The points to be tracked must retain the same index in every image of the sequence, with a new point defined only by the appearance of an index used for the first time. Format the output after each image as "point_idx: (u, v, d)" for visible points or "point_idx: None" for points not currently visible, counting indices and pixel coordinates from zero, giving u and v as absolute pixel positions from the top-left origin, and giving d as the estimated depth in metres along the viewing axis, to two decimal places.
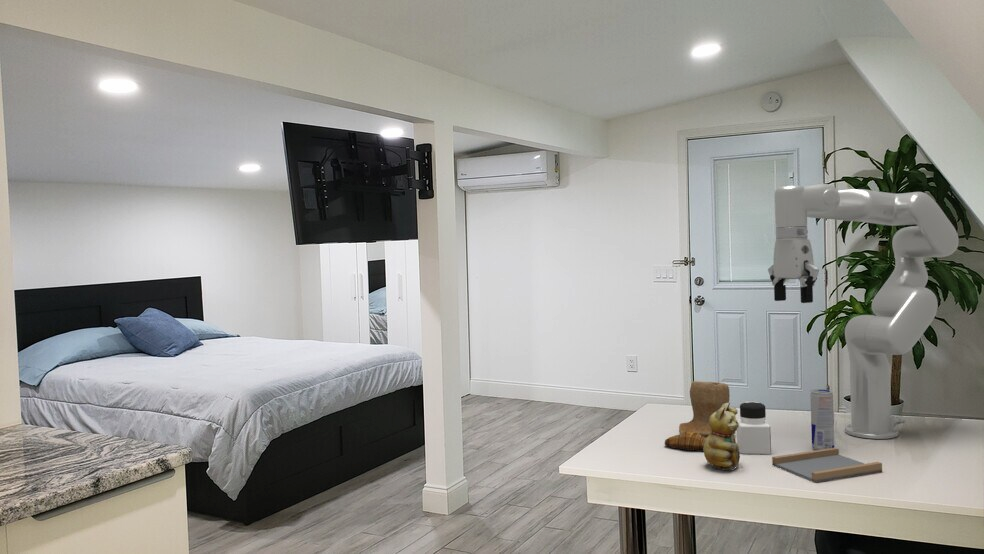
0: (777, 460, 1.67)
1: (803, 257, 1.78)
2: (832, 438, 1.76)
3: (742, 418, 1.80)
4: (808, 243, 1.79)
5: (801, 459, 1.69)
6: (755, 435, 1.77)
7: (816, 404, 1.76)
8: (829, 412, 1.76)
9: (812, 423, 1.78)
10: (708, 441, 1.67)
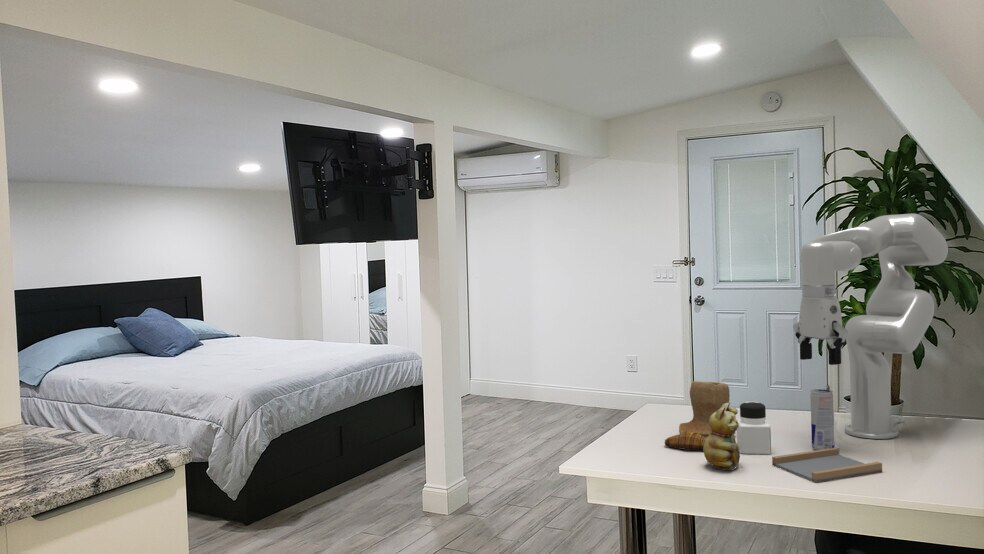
0: (777, 460, 1.67)
1: (831, 317, 1.72)
2: (832, 438, 1.76)
3: (742, 418, 1.80)
4: (836, 303, 1.73)
5: (801, 459, 1.69)
6: (755, 435, 1.77)
7: (816, 404, 1.76)
8: (829, 412, 1.76)
9: (812, 423, 1.78)
10: (708, 441, 1.67)
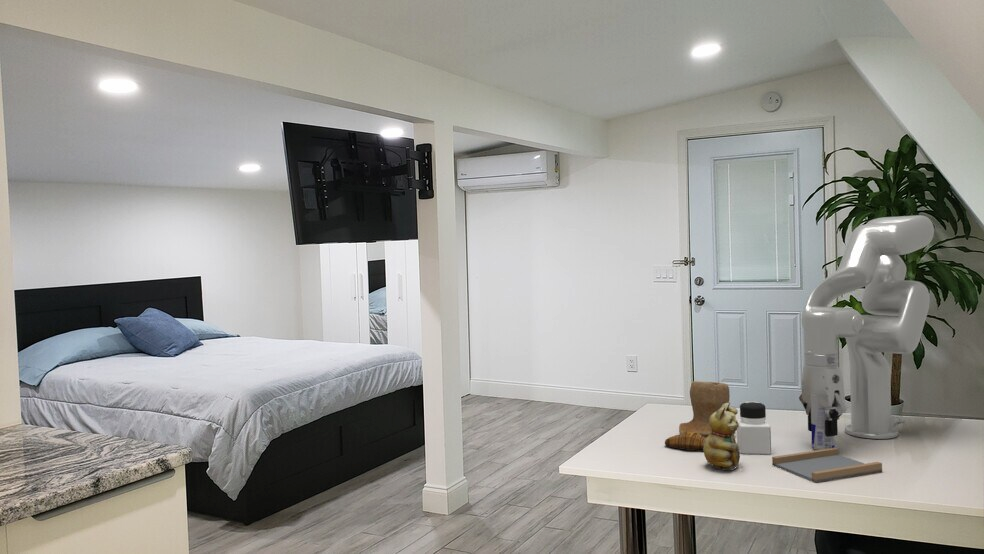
0: (777, 460, 1.67)
1: (834, 387, 1.73)
2: (832, 438, 1.76)
3: (742, 418, 1.80)
4: (839, 372, 1.74)
5: (801, 459, 1.69)
6: (755, 435, 1.77)
7: (816, 404, 1.76)
8: None
9: (812, 423, 1.78)
10: (708, 441, 1.67)
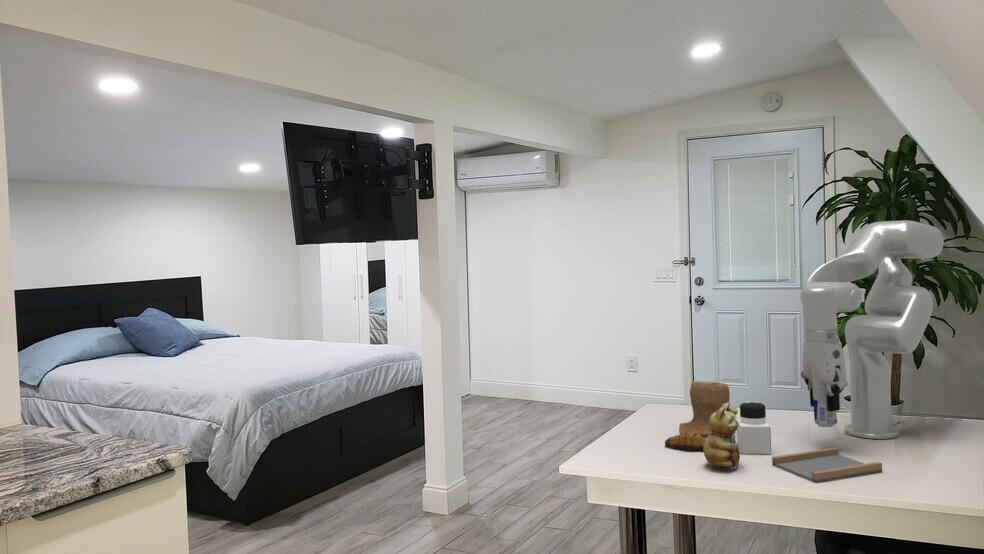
0: (777, 460, 1.67)
1: (834, 362, 1.73)
2: (834, 413, 1.77)
3: (742, 418, 1.80)
4: (839, 347, 1.74)
5: (801, 459, 1.69)
6: (755, 435, 1.77)
7: (818, 379, 1.77)
8: None
9: (814, 399, 1.79)
10: (708, 441, 1.67)
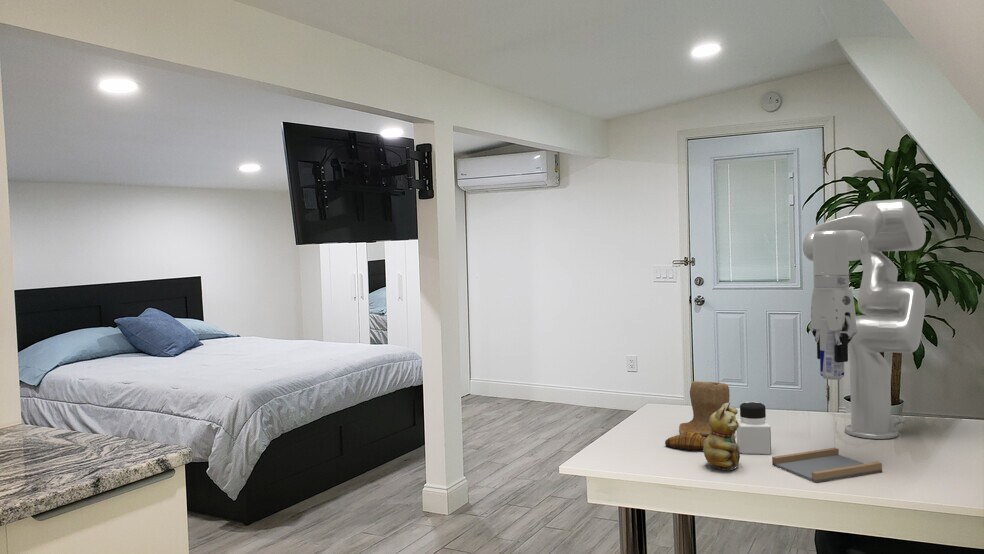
0: (777, 460, 1.67)
1: (844, 309, 1.64)
2: (842, 365, 1.67)
3: (742, 418, 1.80)
4: (850, 293, 1.65)
5: (801, 459, 1.69)
6: (755, 435, 1.77)
7: (825, 328, 1.67)
8: None
9: (821, 349, 1.69)
10: (708, 441, 1.67)
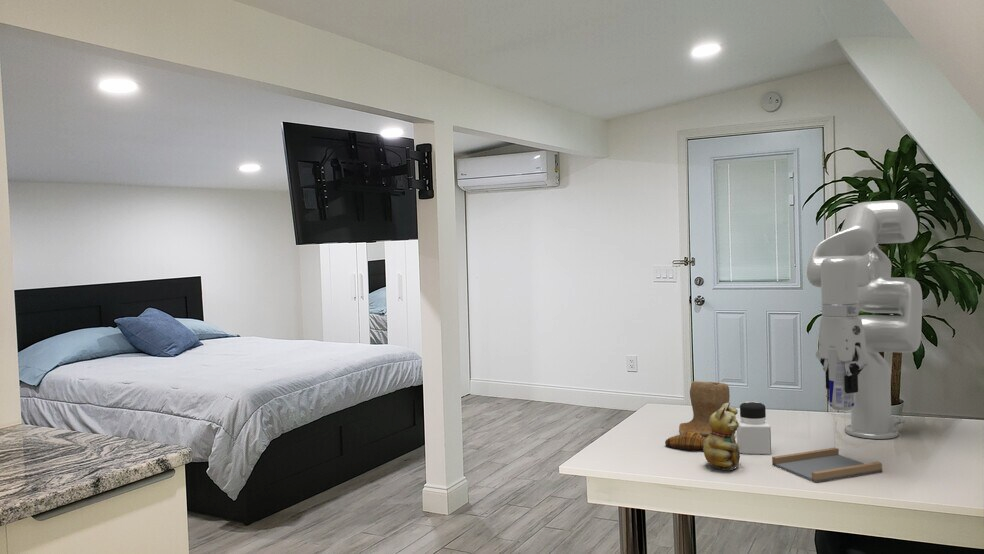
0: (777, 460, 1.67)
1: (854, 339, 1.60)
2: (852, 395, 1.63)
3: (742, 418, 1.80)
4: (860, 323, 1.60)
5: (801, 459, 1.69)
6: (755, 435, 1.77)
7: (835, 358, 1.63)
8: None
9: (830, 379, 1.65)
10: (708, 441, 1.67)
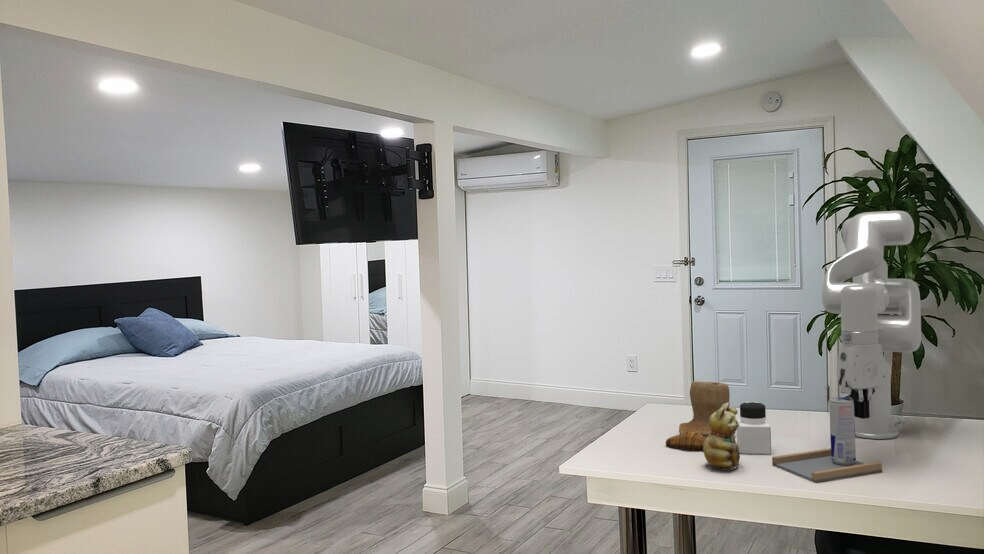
0: (777, 460, 1.67)
1: (840, 364, 1.65)
2: (853, 450, 1.63)
3: (742, 418, 1.80)
4: (847, 351, 1.64)
5: (801, 459, 1.69)
6: (755, 435, 1.77)
7: (836, 413, 1.64)
8: (849, 422, 1.63)
9: (831, 434, 1.65)
10: (708, 441, 1.67)
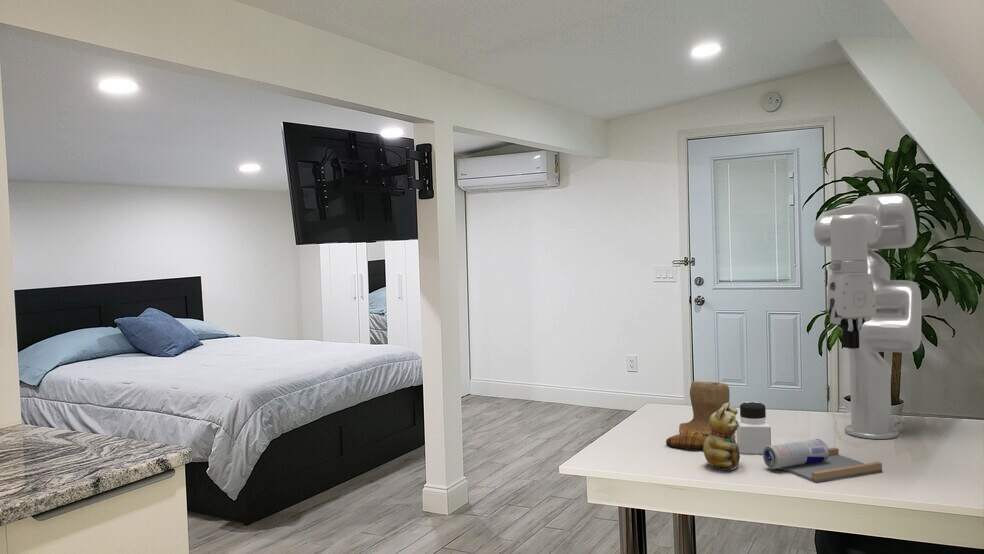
0: None
1: (830, 294, 1.64)
2: (810, 440, 1.67)
3: (742, 418, 1.80)
4: (837, 280, 1.62)
5: None
6: (755, 435, 1.77)
7: (787, 457, 1.62)
8: (789, 445, 1.64)
9: (805, 461, 1.64)
10: (708, 441, 1.67)
